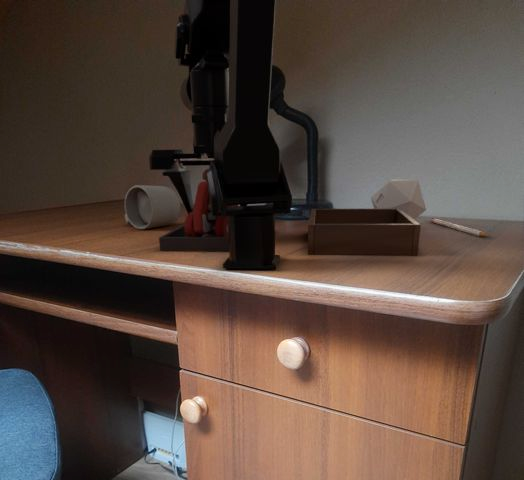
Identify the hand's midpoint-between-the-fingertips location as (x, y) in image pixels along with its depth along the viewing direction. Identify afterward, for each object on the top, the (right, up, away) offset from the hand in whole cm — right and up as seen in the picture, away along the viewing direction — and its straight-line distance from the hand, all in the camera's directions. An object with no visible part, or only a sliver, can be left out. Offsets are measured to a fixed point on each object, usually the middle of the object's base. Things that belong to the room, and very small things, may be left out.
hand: (217, 217), depth 78 cm
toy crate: (+22, -5, -3) cm, 22 cm away
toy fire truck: (0, -3, +1) cm, 3 cm away
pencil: (+41, 0, +8) cm, 42 cm away
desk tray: (0, -3, +1) cm, 3 cm away
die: (+32, +1, +12) cm, 34 cm away
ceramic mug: (-14, +2, +16) cm, 22 cm away
